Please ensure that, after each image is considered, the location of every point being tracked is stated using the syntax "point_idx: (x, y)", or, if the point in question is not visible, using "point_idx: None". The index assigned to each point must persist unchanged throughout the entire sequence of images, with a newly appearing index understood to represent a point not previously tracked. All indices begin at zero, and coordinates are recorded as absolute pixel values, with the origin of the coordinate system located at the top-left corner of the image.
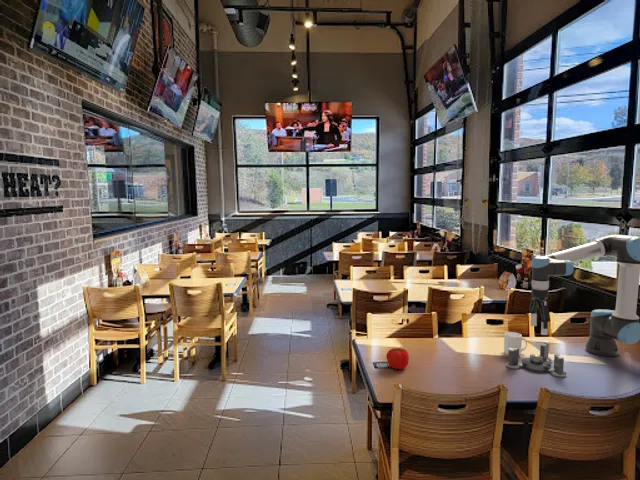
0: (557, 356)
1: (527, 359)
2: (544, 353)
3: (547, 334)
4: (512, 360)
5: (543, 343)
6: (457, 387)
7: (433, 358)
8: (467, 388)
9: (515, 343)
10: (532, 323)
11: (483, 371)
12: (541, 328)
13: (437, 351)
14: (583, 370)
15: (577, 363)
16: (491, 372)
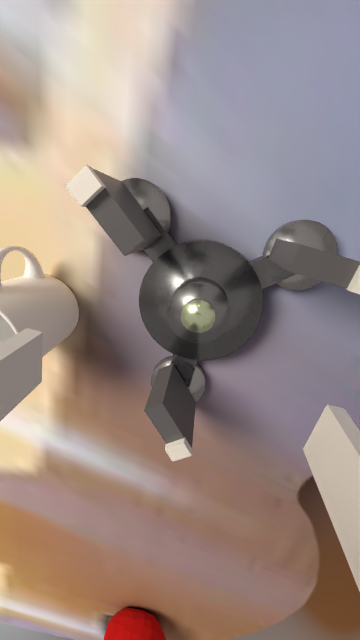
0: (331, 280)
1: (160, 322)
2: (153, 235)
3: (346, 413)
4: (192, 412)
5: (95, 214)
6: (282, 573)
7: (88, 540)
8: (296, 560)
9: (47, 340)
10: (23, 387)
11: (200, 480)
12: (336, 517)
13: (34, 512)
14: (294, 72)
15: (197, 30)
16: (213, 465)
